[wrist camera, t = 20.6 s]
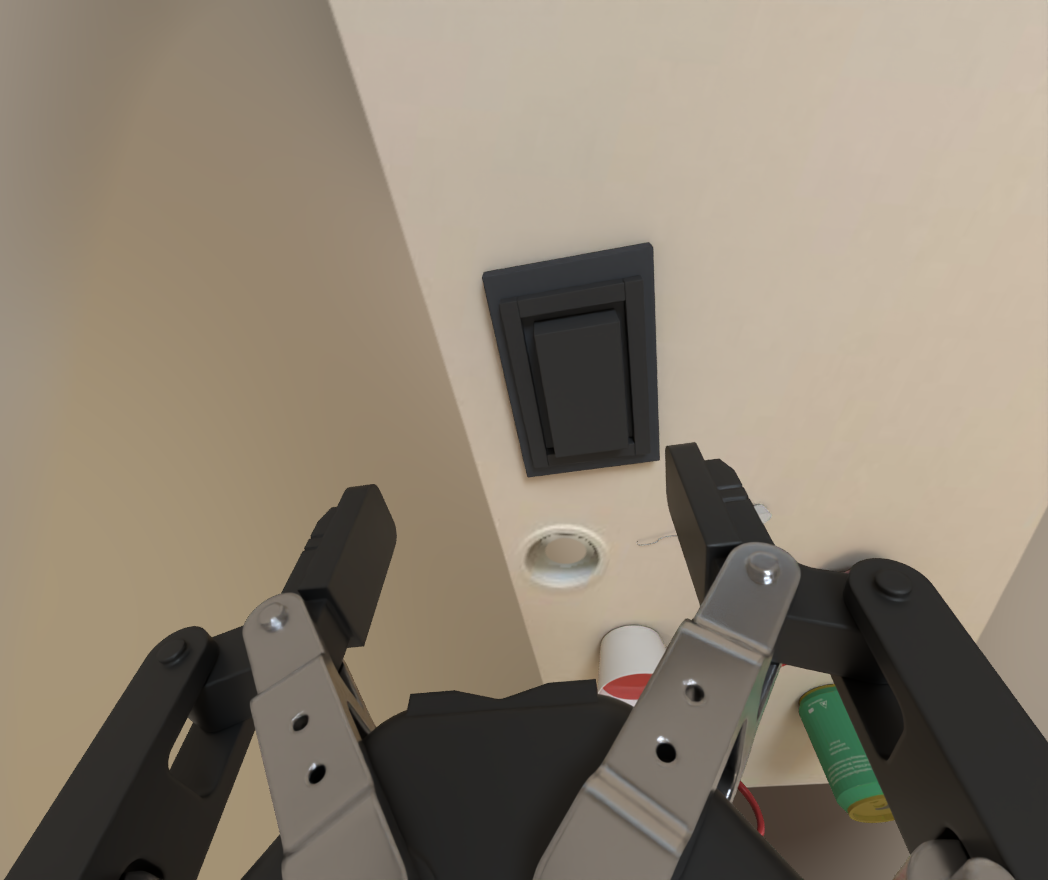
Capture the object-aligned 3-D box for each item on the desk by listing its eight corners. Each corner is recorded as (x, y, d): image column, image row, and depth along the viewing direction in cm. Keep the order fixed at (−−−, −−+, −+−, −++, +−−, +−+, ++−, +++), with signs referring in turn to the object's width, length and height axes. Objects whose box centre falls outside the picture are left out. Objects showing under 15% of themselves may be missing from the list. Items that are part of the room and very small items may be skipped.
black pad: (533, 320, 34) (533, 335, 32) (614, 307, 33) (619, 321, 31) (554, 439, 39) (555, 458, 37) (623, 430, 39) (629, 448, 37)
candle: (582, 658, 59) (587, 713, 54) (603, 612, 54) (611, 668, 48) (655, 667, 60) (666, 722, 54) (682, 623, 54) (698, 678, 49)
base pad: (483, 271, 33) (480, 281, 31) (649, 242, 32) (656, 250, 30) (527, 469, 43) (527, 485, 41) (656, 451, 41) (662, 468, 39)
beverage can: (813, 721, 66) (862, 830, 56) (783, 698, 63) (829, 809, 53) (873, 699, 63) (936, 811, 53) (844, 674, 60) (905, 788, 50)
